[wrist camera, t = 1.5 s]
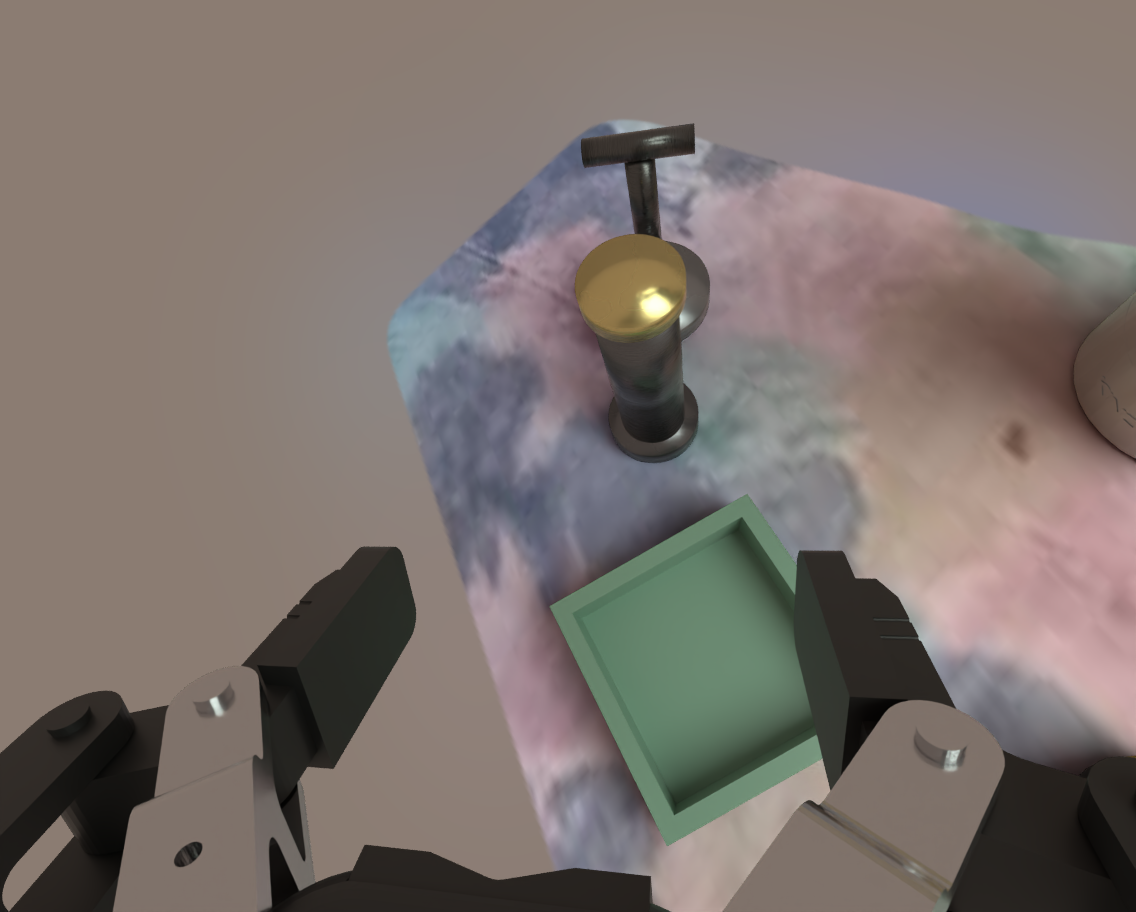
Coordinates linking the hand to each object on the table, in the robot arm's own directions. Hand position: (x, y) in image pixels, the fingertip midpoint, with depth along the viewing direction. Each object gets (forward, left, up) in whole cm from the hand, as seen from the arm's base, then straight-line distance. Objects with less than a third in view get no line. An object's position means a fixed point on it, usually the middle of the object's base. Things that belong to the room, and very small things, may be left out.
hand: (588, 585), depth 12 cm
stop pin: (-6, -10, -19) cm, 22 cm away
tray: (-2, +2, -19) cm, 19 cm away
